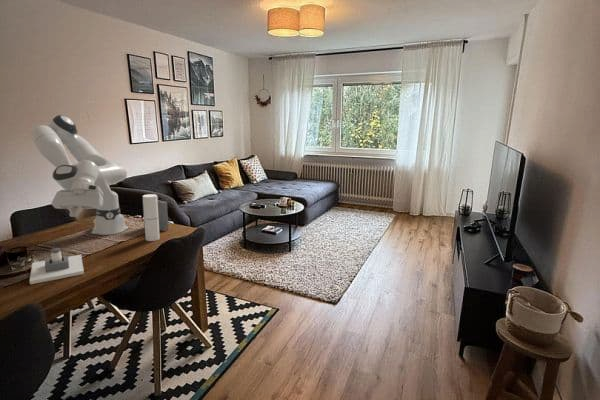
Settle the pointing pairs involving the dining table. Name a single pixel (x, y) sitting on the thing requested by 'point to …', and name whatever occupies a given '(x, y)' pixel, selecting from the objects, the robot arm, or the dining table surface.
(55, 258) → the plug
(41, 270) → the socket block
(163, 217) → the hip flask
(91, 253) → the dining table surface
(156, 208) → the cylindrical container
